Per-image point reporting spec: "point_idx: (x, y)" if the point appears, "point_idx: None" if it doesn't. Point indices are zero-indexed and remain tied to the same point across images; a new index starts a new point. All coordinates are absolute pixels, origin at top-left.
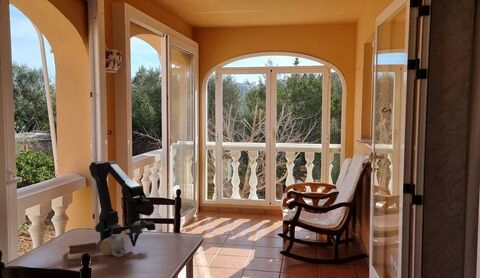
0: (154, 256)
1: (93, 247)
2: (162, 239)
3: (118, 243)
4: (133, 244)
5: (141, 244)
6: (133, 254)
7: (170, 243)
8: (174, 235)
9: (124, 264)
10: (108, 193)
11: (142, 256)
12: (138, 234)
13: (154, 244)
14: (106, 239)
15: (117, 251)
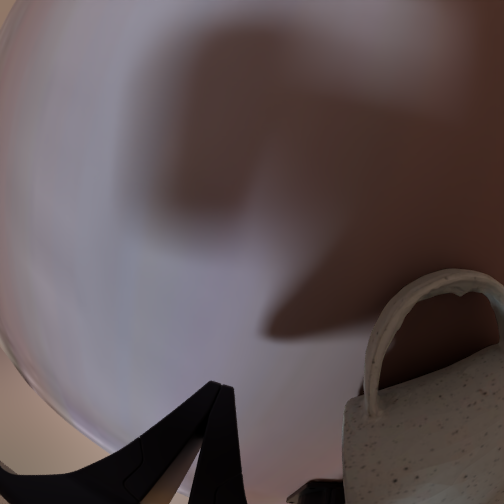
0: (95, 56)
1: None
2: (47, 368)
3: (453, 453)
4: (218, 404)
5: (147, 405)
6: (282, 247)
7: (7, 289)
8: (20, 362)
9: (474, 13)
10: None
11: (198, 101)
12: (59, 489)
13: (69, 345)
14: None
15: (429, 375)
